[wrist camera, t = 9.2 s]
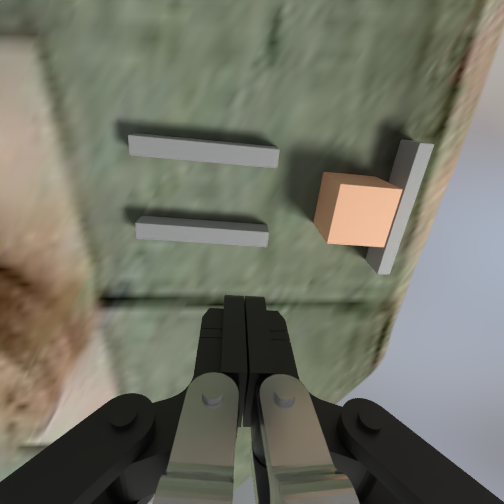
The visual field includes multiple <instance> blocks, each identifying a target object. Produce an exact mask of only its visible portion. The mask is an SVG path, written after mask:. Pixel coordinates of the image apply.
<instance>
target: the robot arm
mask: <svg viewBox="0 0 504 504" xmlns="http://www.w3.org/2000/svg"><path fill="white" fill-rule="evenodd" d="M242 413H243V427H251V438H252V442H251V449H250V460H251V468H252V477H253V486H254V494H255V503H256V504H504V502H503V501H502V500H500V499H499V498H498V497H496V496H495V495H494V494H492V493H491V492H490V491H489V490H487V489H486V488H485V487H484V486H482V485H481V484H480V483H479V482H477V481H476V480H475V479H473V478H472V477H471V476H470V475H468V474H467V473H466V472H464V471H463V470H462V469H461V468H459V467H458V466H456V465H455V464H454V463H453V462H451V461H450V460H449V459H448V458H446V457H445V456H444V455H443V454H441V453H440V452H439V451H437V450H436V449H435V448H434V447H432V446H431V445H430V444H428V443H427V442H426V441H424V440H423V439H422V438H421V437H420V436H418V435H417V434H416V433H414V432H413V431H412V430H411V429H409V428H408V427H407V426H405V425H404V424H403V423H401V422H400V421H399V420H398V419H396V418H395V417H394V416H393V415H391V414H390V413H389V412H388V411H386V410H385V409H384V408H382V407H381V406H379V405H378V404H376V403H374V402H372V401H370V400H367V399H362V398H355V399H351V400H349V401H347V402H346V403H345V404H344V406H343V407H341V406H338V405H335V404H332V403H329V402H326V401H323V400H320V399H318V398H316V397H315V396H313V395H312V394H310V393H309V392H308V390H307V388H306V387H305V385H304V384H303V383H302V382H301V381H300V380H299V377H298V373H297V368H296V364H295V360H294V356H293V351H292V347H291V343H290V339H289V334H288V330H287V326H286V322H285V319H284V318H283V317H282V316H281V315H280V313H279V312H278V311H268V310H266V304H265V298H264V297H256V296H245V298H244V296H233V295H225V296H224V309H220V308H209V309H208V311H207V312H206V313H205V314H204V316H203V317H202V323H201V330H200V337H199V343H198V350H197V357H196V364H195V370H194V376H193V379H192V381H191V383H190V384H189V386H188V387H187V388H186V389H185V390H184V391H183V392H181V393H180V394H178V395H176V396H174V397H172V398H169V399H166V400H162V401H158V402H155V403H152V402H151V401H150V400H149V399H148V398H147V397H145V396H143V395H141V394H135V393H130V394H124V395H120V396H117V397H115V398H113V399H111V400H110V401H108V402H107V403H106V404H104V405H103V406H102V407H100V408H99V409H98V410H96V411H95V412H93V413H92V414H91V415H89V416H88V417H87V418H85V419H84V420H83V421H81V422H80V423H79V424H77V425H76V426H75V427H73V428H72V429H71V430H69V431H68V432H67V433H65V434H64V435H63V436H61V437H60V438H59V439H57V440H56V441H55V442H53V443H52V444H51V445H49V446H48V447H47V448H45V449H44V450H43V451H41V452H40V453H39V454H37V455H36V456H35V457H33V458H32V459H31V460H29V461H28V462H27V463H25V464H24V465H23V466H21V467H20V468H18V469H17V470H16V471H14V472H13V473H12V474H10V475H9V476H8V477H6V478H5V479H4V480H2V481H1V482H0V504H147V503H148V502H149V501H150V500H151V498H152V497H153V496H154V494H155V496H154V500H153V504H232V500H233V482H234V479H233V473H234V458H235V446H236V437H237V429H238V427H241V421H242Z"/></svg>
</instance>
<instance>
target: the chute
mask: <svg viewBox="0 0 504 504" xmlns="http://www.w3.org/2000/svg"><path fill="white" fill-rule="evenodd" d="M128 141H129V153H130V155H134V156H145V157H156V158H167V159H179V160H190V161H201V162H212V163H223V164H234V165H245V166H257V167H268V168H277V167H278V159H279V151H280V149H279V148H278V147H275V146H265V145H254V144H244V143H233V142H223V141H213V140H202V139H192V138H181V137H171V136H160V135H150V134H140V133H134V134H131V135H128ZM135 226H136V238H138V239H153V240H168V241H183V242H198V243H213V244H228V245H243V246H258V247H267V244H268V236H269V231H268V227H267V225H264V224H251V223H237V222H223V221H210V220H196V219H182V218H169V217H155V216H141V217H140V218H139V219H138V220H137V222H136V223H135Z"/></svg>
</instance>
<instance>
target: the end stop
mask: <svg viewBox="0 0 504 504" xmlns="http://www.w3.org/2000/svg"><path fill="white" fill-rule="evenodd" d="M433 147H434V144H429V143H424V142H419V141H413V140H403V139H401V141H400V144H399V148H398V151H397V154H396V158H395V161H394V164H393V168H392V171H391V175H390V178H389V181H388V183H390V184H392V185H394V186H396V187H398V188H400V189H403V190H402V193H401V196H400V199H399V202H398V205H397V209H396V212H395V215H394V218H393V221H392V224H391V227H390V230H389V233H388V236H387V239H386V243H385V246H384V247H372V246H369V249H368V252H367V255H366V259H365V260H366V261H367V262H368V263H369V264H370V266H371V267H372V268H373V269H374V270H375V272H376V273H377V274H390V271H391V268H392V265H393V262H394V259H395V257H396V254H397V251H398V248H399V245H400V242H401V239H402V236H403V233H404V230H405V228H406V225H407V222H408V219H409V216H410V213H411V210H412V207H413V204H414V202H415V199H416V196H417V193H418V190H419V187H420V184H421V181H422V178H423V175H424V173H425V170H426V167H427V164H428V161H429V158H430V155H431V152H432V149H433Z"/></svg>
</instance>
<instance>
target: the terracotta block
mask: <svg viewBox="0 0 504 504" xmlns="http://www.w3.org/2000/svg"><path fill="white" fill-rule="evenodd" d="M402 190H403V189H400V188H398V187H396V186H394V185H392V184H390V183H388V182H386V181H384V180H382V179H380V178H378V177H376V176H365V175H355V174H344V173H333V172H323V177H322V182H321V187H320V192H319V197H318V202H317V207H316V212H315V217H314V222H313V223H314V225H315V226H316V228H317V229H318V231H319V232H320V234H321V235H322V237H323V238H324V239H325V241H326V242H327V243H330V244H344V245H358V246H372V247H384V246H385V243H386V239H387V236H388V233H389V230H390V227H391V224H392V221H393V218H394V215H395V212H396V209H397V205H398V202H399V199H400V196H401V193H402Z"/></svg>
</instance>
